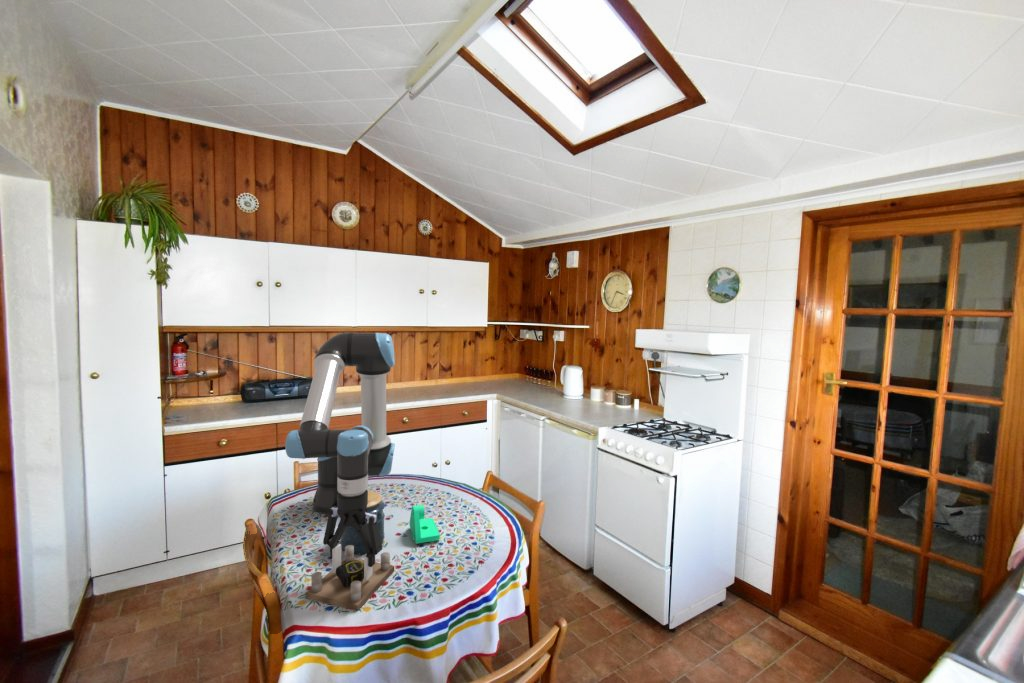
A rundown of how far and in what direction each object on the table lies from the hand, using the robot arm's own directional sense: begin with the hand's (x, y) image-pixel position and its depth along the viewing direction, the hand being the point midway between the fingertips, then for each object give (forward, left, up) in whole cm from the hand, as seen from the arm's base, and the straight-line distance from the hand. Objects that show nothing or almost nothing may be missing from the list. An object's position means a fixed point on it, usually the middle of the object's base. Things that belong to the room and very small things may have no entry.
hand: (352, 573), depth 117 cm
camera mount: (+7, +29, -3) cm, 30 cm away
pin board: (0, 0, -3) cm, 3 cm away
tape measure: (0, -1, -2) cm, 2 cm away
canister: (-9, +18, -3) cm, 20 cm away
